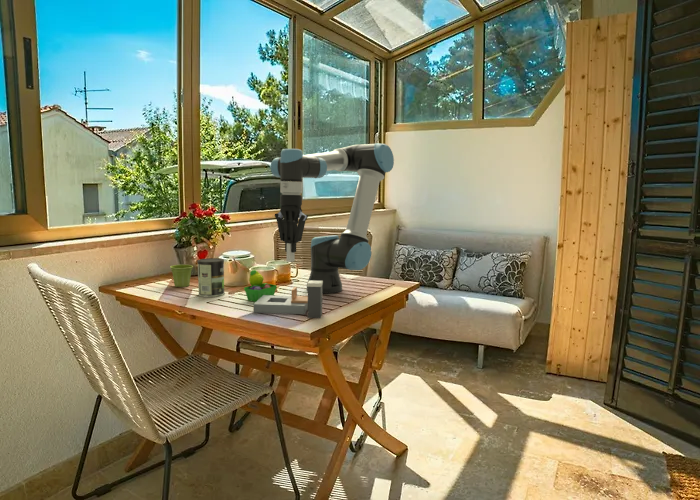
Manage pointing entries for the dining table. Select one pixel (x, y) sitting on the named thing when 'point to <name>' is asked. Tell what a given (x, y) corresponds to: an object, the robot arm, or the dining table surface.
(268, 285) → the fruit basket
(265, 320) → the dining table surface
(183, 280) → the plant pot
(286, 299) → the socket
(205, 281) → the coffee can
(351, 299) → the dining table surface
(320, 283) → the plug
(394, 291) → the dining table surface
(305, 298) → the tan plate with tab
